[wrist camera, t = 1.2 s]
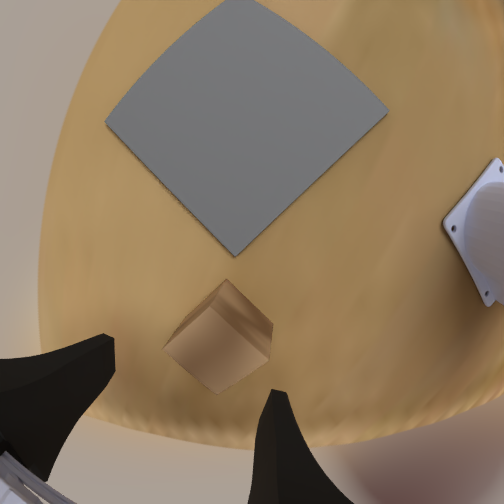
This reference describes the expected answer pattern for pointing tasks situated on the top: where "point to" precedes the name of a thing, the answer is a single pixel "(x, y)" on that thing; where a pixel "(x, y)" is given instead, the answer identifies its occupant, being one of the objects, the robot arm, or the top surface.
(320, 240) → the top surface
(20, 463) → the robot arm
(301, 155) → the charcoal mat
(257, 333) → the oak cube
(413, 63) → the top surface
